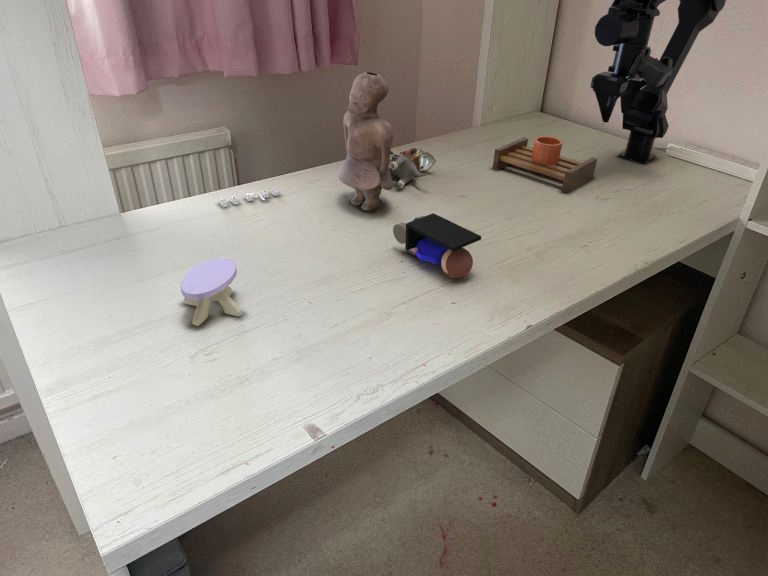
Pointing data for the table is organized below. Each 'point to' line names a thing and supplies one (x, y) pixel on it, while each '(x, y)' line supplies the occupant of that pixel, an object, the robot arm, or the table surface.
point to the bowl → (546, 150)
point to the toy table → (210, 287)
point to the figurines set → (248, 197)
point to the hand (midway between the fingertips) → (614, 117)
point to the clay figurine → (367, 142)
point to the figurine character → (438, 243)
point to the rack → (564, 170)
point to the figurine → (409, 165)
